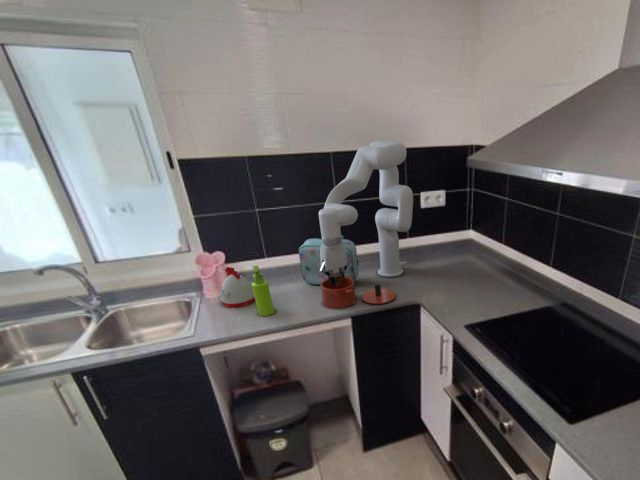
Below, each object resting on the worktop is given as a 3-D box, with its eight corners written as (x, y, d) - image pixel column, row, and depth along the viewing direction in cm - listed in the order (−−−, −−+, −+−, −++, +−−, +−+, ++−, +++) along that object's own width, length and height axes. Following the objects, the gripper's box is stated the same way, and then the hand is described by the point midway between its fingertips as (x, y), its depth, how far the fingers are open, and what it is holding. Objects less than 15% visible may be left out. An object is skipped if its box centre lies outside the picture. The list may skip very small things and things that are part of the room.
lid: (381, 287, 174) (380, 274, 171) (402, 297, 165) (401, 283, 162) (354, 297, 165) (353, 283, 162) (375, 308, 156) (374, 294, 153)
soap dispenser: (260, 318, 150) (248, 271, 140) (258, 311, 155) (246, 265, 146) (275, 315, 152) (265, 268, 143) (272, 308, 158) (262, 262, 148)
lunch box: (363, 279, 183) (359, 235, 173) (358, 287, 174) (353, 242, 164) (309, 277, 186) (302, 234, 175) (302, 286, 177) (294, 241, 166)
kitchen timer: (243, 290, 173) (234, 259, 166) (263, 297, 167) (256, 265, 160) (215, 302, 162) (205, 270, 155) (236, 310, 156) (227, 276, 149)
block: (338, 280, 161) (337, 272, 159) (344, 283, 158) (343, 274, 156) (330, 283, 158) (329, 274, 157) (335, 286, 156) (334, 277, 154)
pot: (340, 289, 173) (338, 272, 169) (365, 303, 161) (364, 284, 156) (314, 299, 164) (311, 281, 160) (338, 314, 152) (336, 295, 148)
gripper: (344, 234, 157) (348, 275, 166) (308, 243, 147) (314, 286, 156) (355, 238, 152) (358, 280, 161) (318, 247, 142) (324, 292, 151)
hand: (337, 282), depth 158 cm, fingers closed on block, 4 cm apart
